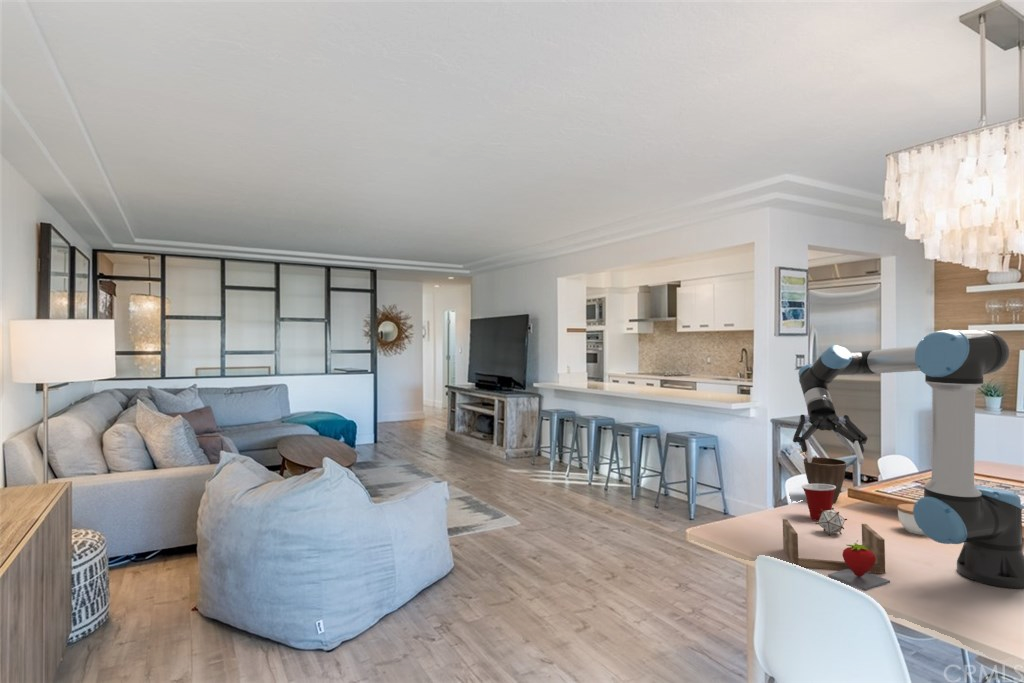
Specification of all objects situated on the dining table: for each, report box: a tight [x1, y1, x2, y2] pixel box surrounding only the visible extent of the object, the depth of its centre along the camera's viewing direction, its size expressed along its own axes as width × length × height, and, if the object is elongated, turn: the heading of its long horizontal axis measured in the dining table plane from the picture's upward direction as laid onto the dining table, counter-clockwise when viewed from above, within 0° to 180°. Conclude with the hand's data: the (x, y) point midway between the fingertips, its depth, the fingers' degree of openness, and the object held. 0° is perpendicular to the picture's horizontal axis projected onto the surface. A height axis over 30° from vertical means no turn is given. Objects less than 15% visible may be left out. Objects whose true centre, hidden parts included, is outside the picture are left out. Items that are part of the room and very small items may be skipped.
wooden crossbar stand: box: [782, 518, 886, 574], centre depth 160 cm, size 14×22×9 cm, turn 75°
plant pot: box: [802, 456, 847, 505], centre depth 221 cm, size 15×15×16 cm
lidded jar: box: [897, 503, 926, 536], centre depth 183 cm, size 11×11×9 cm
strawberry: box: [842, 539, 876, 577], centre depth 146 cm, size 6×8×10 cm
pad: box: [827, 568, 891, 591], centre depth 146 cm, size 10×10×1 cm
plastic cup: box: [801, 483, 836, 522], centre depth 198 cm, size 11×11×12 cm
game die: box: [814, 507, 848, 536], centre depth 183 cm, size 9×8×10 cm
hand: (835, 461), depth 166 cm, fingers open, 13 cm apart
